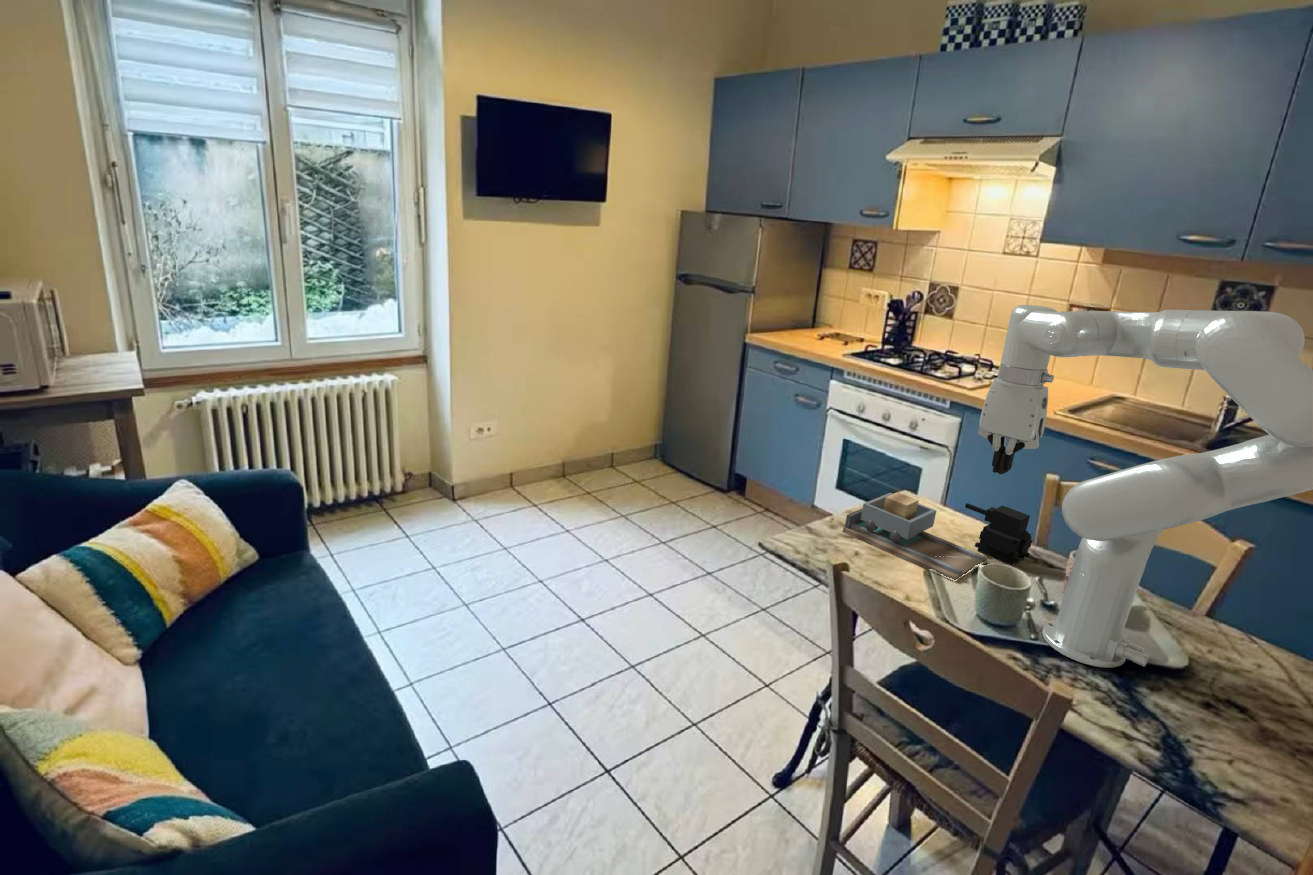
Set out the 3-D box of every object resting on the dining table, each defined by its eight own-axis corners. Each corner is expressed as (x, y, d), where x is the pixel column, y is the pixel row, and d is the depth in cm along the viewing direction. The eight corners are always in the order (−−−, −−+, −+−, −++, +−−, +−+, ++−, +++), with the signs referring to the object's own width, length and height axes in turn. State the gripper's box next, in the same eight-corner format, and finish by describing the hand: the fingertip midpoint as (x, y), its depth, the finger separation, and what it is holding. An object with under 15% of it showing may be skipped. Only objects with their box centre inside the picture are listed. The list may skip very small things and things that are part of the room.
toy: (966, 533, 163) (976, 493, 160) (1029, 559, 153) (1041, 516, 150) (950, 541, 158) (959, 500, 155) (1014, 568, 148) (1026, 525, 145)
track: (986, 562, 150) (990, 545, 148) (954, 582, 141) (959, 564, 139) (876, 516, 167) (879, 501, 166) (842, 531, 158) (845, 515, 157)
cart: (931, 533, 156) (936, 510, 154) (905, 546, 149) (910, 522, 147) (886, 514, 164) (890, 492, 162) (858, 526, 157) (863, 503, 155)
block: (914, 521, 155) (918, 500, 154) (902, 526, 152) (906, 505, 151) (893, 512, 159) (897, 492, 157) (881, 518, 156) (885, 497, 154)
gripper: (1073, 382, 125) (1050, 480, 131) (989, 365, 136) (970, 457, 141) (1057, 387, 120) (1033, 488, 126) (971, 369, 131) (952, 464, 136)
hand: (1000, 471), depth 134 cm, fingers closed
